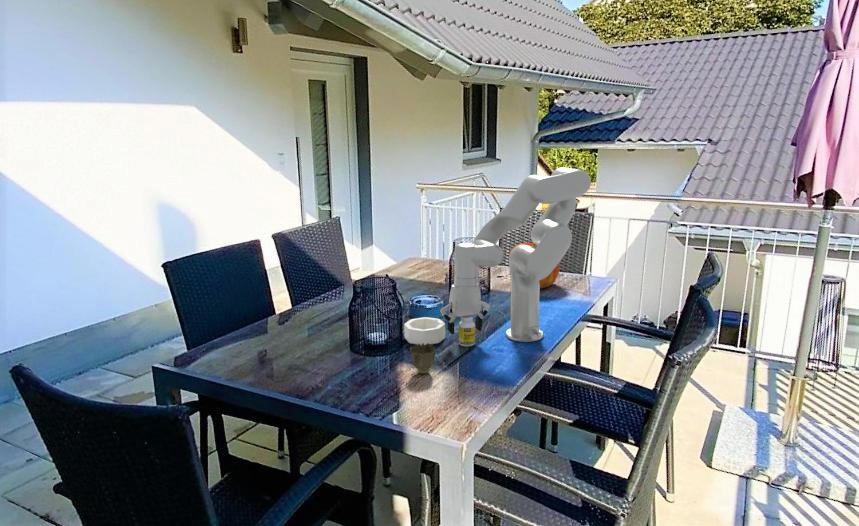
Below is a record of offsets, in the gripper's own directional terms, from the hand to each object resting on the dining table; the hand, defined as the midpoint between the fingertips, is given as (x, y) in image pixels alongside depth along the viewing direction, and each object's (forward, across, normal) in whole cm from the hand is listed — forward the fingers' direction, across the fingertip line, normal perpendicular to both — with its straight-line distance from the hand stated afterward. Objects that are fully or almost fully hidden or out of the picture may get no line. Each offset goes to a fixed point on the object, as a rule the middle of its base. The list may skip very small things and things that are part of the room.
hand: (465, 331), depth 196 cm
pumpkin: (+3, -56, -52) cm, 76 cm away
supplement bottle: (+5, -1, 0) cm, 5 cm away
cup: (+5, +20, +16) cm, 26 cm away
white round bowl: (+5, +10, -11) cm, 16 cm away
